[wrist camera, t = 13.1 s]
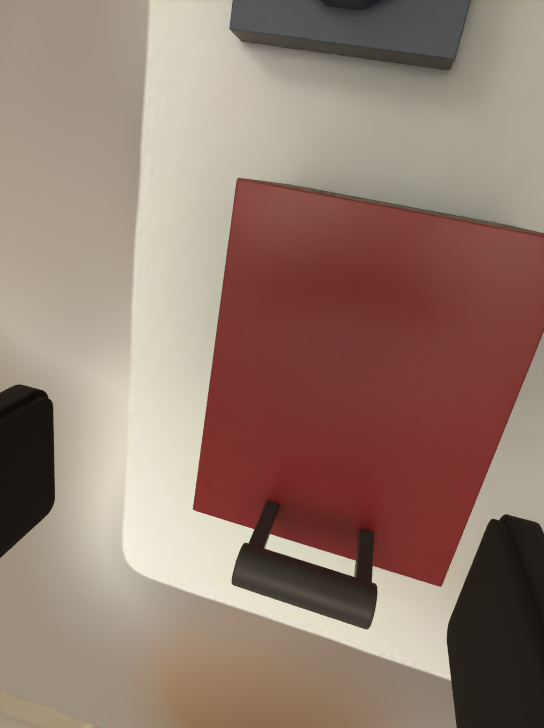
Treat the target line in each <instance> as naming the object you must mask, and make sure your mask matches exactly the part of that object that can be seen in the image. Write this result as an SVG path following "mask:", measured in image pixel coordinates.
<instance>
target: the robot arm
mask: <svg viewBox="0 0 544 728" xmlns="http://www.w3.org/2000/svg"><path fill="white" fill-rule="evenodd" d="M53 430H54V428H53V403H52V401H51V400H50V399H48V396H47V394H46V392H44V391H43V390H39V389H36V388H32V387H28V386H24V385H15V386H13V387H11V388H9V389H7V390H5V391H3V392H1V393H0V558H1V557H2V556H3V555H4V554H5V553H6V552H7V551H8V550H9V549H11V548H12V547H13V546H14V545H15V544H16V543H17V542H18V541H19V540H20V539H21V538H23V537H24V536H25V535H26V534H27V533H28V532H29V531H30V530H31V529H32V528H33V527H34V526H36V525H37V524H38V523H39V522H40V521H41V520H42V519H43V518H44V517H45V516H47V514H48V513H49V512H50V510H51V509H52V507H53V504H54V501H55V500H54V499H55V479H54V431H53ZM447 646H448V655H449V664H450V673H451V681H452V690H453V699H454V707H455V715H456V725H457V728H544V533H543V531H542V528H541V527H540V525H539V524H538V523H536V522H533V521H529V520H525V519H521V518H518V517H514V516H510V515H506V514H505V515H503V516H502V517H501V518H500V520H495V519H491V520H490V522H489V523H488V525H487V528H486V530H485V533H484V535H483V538H482V540H481V543H480V545H479V548H478V550H477V553H476V555H475V558H474V560H473V563H472V565H471V568H470V570H469V573H468V575H467V578H466V580H465V583H464V585H463V588H462V590H461V593H460V595H459V598H458V600H457V603H456V605H455V608H454V610H453V613H452V615H451V618H450V621H449V624H448V630H447ZM0 728H98V727H95V726H93V725H90V724H88V723H85V722H83V721H80V720H78V719H75V718H73V717H70V716H68V715H65V714H63V713H60V712H57V711H55V710H52V709H50V708H47V707H45V706H42V705H40V704H37V703H35V702H32V701H30V700H27V699H24V698H22V697H20V696H17V695H14V694H12V693H9V692H7V691H4V690H2V689H0Z"/></svg>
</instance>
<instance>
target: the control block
mask: <svg viewBox="0 0 544 728" xmlns="http://www.w3.org/2000/svg"><path fill="white" fill-rule="evenodd" d="M470 1H471V0H233V3H232V12H231V20H230V30H231V31H232V32H233V33H234V34H235V35H236V36H237V37H238V38H239V39H240V40H241V41H243V42H251V43H258V44H265V45H272V46H280V47H287V48H294V49H301V50H308V51H316V52H323V53H330V54H337V55H345V56H352V57H359V58H366V59H373V60H381V61H388V62H395V63H402V64H409V65H417V66H424V67H431V68H438V69H446V70H450V69H451V67H452V64H453V62H454V60H455V57H456V53H457V50H458V46H459V42H460V38H461V35H462V31H463V27H464V23H465V20H466V16H467V12H468V9H469V5H470Z"/></svg>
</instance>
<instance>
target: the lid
mask: <svg viewBox="0 0 544 728" xmlns="http://www.w3.org/2000/svg"><path fill="white" fill-rule="evenodd" d="M543 332H544V235H542V234H537V233H531V232H526V231H521V230H515V229H510V228H505V227H499V226H494V225H489V224H483V223H478V222H473V221H467V220H462V219H457V218H451V217H446V216H441V215H435V214H430V213H425V212H419V211H414V210H409V209H403V208H398V207H393V206H387V205H382V204H377V203H371V202H366V201H361V200H355V199H350V198H344V197H339V196H334V195H328V194H323V193H318V192H312V191H307V190H302V189H296V188H291V187H286V186H280V185H275V184H270V183H264V182H259V181H254V180H248V179H243V178H238V179H237V182H236V190H235V197H234V205H233V212H232V220H231V227H230V235H229V242H228V250H227V257H226V265H225V272H224V280H223V287H222V295H221V302H220V310H219V317H218V325H217V332H216V340H215V347H214V355H213V362H212V370H211V377H210V385H209V392H208V400H207V407H206V415H205V422H204V430H203V437H202V445H201V452H200V460H199V467H198V475H197V482H196V490H195V497H194V505H193V510H195V511H198V512H201V513H204V514H207V515H211V516H214V517H217V518H220V519H224V520H227V521H230V522H233V523H236V524H240V525H243V526H246V527H249V528H253V529H255V530H254V532H253V534H252V537H251V539H250V542H249V544H248V543H244V544H243V545H242V547H241V549H240V552H239V554H238V557H237V560H236V564H235V567H234V571H233V575H232V584H233V585H234V586H237V587H240V588H243V589H246V590H249V591H252V592H255V593H258V594H261V595H264V596H267V597H270V598H273V599H276V600H279V601H282V602H285V603H288V604H291V605H294V606H297V607H300V608H303V609H306V610H309V611H312V612H315V613H318V614H321V615H324V616H327V617H330V618H333V619H336V620H339V621H342V622H345V623H348V624H351V625H354V626H357V627H360V628H363V629H369V627H370V626H371V623H372V620H373V617H374V612H375V607H376V601H377V585H376V584H375V583H372V567H373V566H375V567H378V568H382V569H385V570H388V571H391V572H394V573H398V574H401V575H404V576H407V577H411V578H414V579H417V580H420V581H423V582H427V583H430V584H433V585H436V586H440V587H441V586H442V584H443V581H444V579H445V576H446V574H447V571H448V569H449V566H450V564H451V561H452V559H453V556H454V554H455V551H456V549H457V546H458V544H459V541H460V539H461V536H462V534H463V531H464V529H465V526H466V524H467V521H468V519H469V516H470V514H471V511H472V509H473V506H474V504H475V501H476V499H477V496H478V494H479V492H480V489H481V487H482V484H483V482H484V479H485V477H486V474H487V472H488V469H489V467H490V464H491V462H492V459H493V457H494V454H495V452H496V449H497V447H498V444H499V442H500V439H501V437H502V434H503V432H504V429H505V427H506V424H507V422H508V419H509V417H510V414H511V412H512V409H513V407H514V404H515V402H516V399H517V397H518V394H519V392H520V389H521V387H522V384H523V382H524V379H525V377H526V374H527V372H528V369H529V367H530V364H531V362H532V359H533V357H534V354H535V352H536V349H537V347H538V344H539V342H540V339H541V337H542V334H543ZM270 534H272V535H275V536H278V537H282V538H285V539H288V540H291V541H294V542H298V543H301V544H304V545H307V546H311V547H314V548H317V549H320V550H323V551H327V552H330V553H333V554H336V555H340V556H343V557H346V558H349V559H353V560H356V564H355V574H354V577H352V576H349V575H346V574H343V573H340V572H337V571H333V570H330V569H327V568H324V567H321V566H318V565H314V564H311V563H308V562H305V561H302V560H299V559H295V558H292V557H289V556H286V555H283V554H280V553H276V552H273V551H270V550H267V549H265V546H266V543H267V540H268V538H269V535H270Z"/></svg>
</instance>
